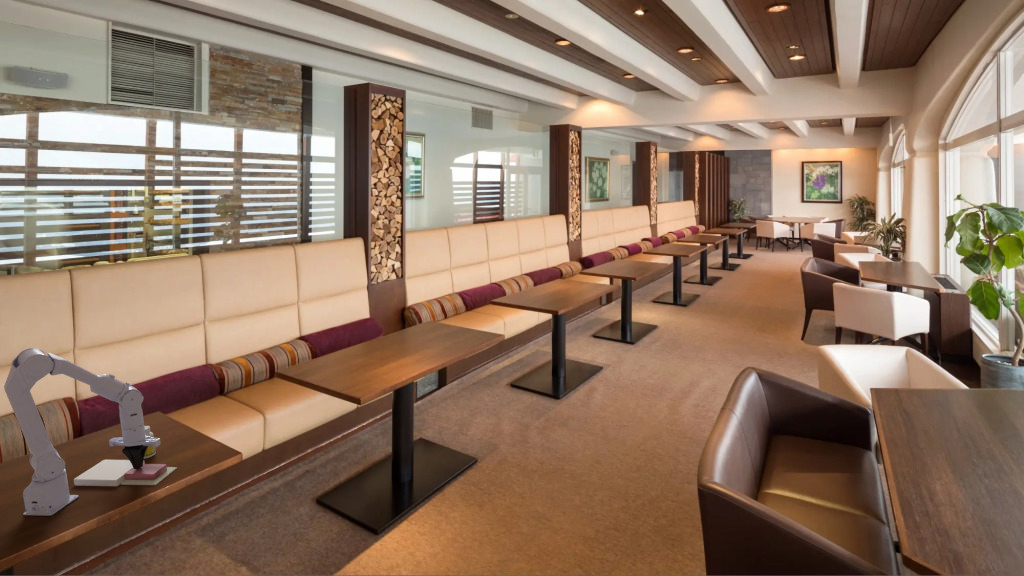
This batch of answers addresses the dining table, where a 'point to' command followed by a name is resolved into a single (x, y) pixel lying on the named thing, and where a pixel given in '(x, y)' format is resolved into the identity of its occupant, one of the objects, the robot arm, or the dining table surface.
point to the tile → (146, 472)
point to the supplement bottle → (150, 449)
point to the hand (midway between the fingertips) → (138, 467)
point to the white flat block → (105, 473)
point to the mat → (149, 482)
